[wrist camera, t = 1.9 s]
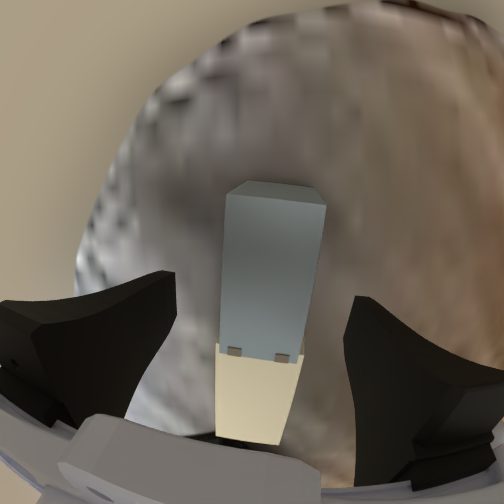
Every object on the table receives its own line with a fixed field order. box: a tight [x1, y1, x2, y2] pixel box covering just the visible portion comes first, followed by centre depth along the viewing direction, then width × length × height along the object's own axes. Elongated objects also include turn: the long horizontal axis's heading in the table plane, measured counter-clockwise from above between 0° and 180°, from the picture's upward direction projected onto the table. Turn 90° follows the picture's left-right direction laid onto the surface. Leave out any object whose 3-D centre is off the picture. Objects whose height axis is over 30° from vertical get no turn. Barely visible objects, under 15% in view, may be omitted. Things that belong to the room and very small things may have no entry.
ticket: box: [215, 334, 304, 445], centre depth 19 cm, size 5×10×5 cm, turn 176°
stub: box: [219, 180, 327, 364], centre depth 15 cm, size 4×8×6 cm, turn 176°
